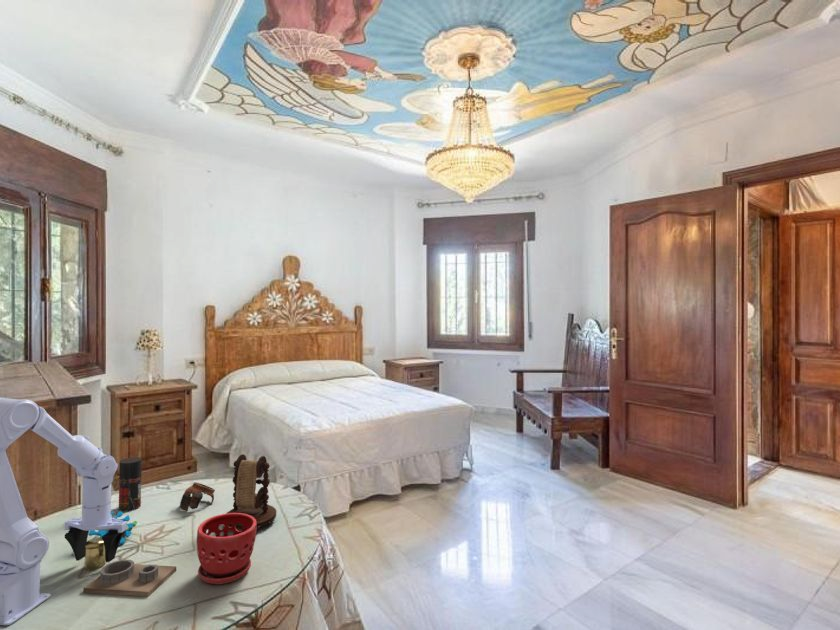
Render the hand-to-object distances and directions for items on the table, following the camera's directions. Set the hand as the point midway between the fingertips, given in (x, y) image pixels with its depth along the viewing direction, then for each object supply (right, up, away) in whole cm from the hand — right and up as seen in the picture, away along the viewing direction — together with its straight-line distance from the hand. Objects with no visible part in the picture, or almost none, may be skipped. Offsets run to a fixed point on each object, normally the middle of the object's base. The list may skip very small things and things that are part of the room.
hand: (95, 559), depth 109 cm
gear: (-3, -2, +11) cm, 12 cm away
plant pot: (+33, -3, -2) cm, 33 cm away
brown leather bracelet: (+7, -2, +35) cm, 35 cm away
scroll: (+29, -3, +24) cm, 38 cm away
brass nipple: (0, -2, 0) cm, 2 cm away
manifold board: (+13, -2, -6) cm, 14 cm away
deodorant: (-13, -2, +33) cm, 35 cm away
